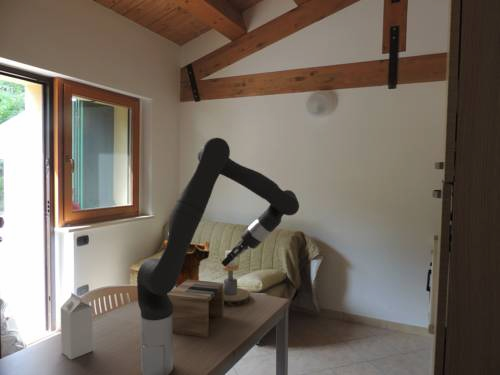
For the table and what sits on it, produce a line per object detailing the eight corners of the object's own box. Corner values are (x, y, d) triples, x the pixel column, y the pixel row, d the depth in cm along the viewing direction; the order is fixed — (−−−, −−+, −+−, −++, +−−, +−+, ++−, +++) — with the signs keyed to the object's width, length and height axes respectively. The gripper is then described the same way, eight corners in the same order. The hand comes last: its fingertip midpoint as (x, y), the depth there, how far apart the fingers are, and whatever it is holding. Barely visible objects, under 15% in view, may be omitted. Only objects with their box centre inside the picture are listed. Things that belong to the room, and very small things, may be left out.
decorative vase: (204, 306, 149) (201, 242, 148) (156, 304, 154) (153, 242, 153) (218, 289, 170) (216, 234, 168) (175, 288, 174) (172, 234, 173)
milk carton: (83, 344, 117) (82, 289, 116) (93, 351, 112) (92, 294, 111) (61, 352, 111) (60, 295, 110) (70, 360, 107) (69, 301, 106)
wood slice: (243, 309, 148) (243, 302, 148) (209, 304, 153) (209, 297, 153) (254, 296, 163) (254, 290, 163) (223, 292, 168) (223, 286, 168)
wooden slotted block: (207, 337, 122) (207, 298, 122) (166, 331, 126) (166, 294, 126) (223, 316, 140) (223, 282, 139) (187, 312, 144) (187, 279, 143)
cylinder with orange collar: (240, 295, 127) (240, 252, 127) (224, 297, 125) (224, 254, 125) (236, 289, 133) (235, 249, 132) (221, 291, 131) (220, 250, 130)
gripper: (254, 222, 132) (225, 251, 137) (243, 228, 119) (211, 260, 123) (267, 237, 131) (238, 265, 135) (258, 244, 118) (225, 276, 122)
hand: (225, 262), depth 129 cm, fingers closed on cylinder with orange collar, 4 cm apart
